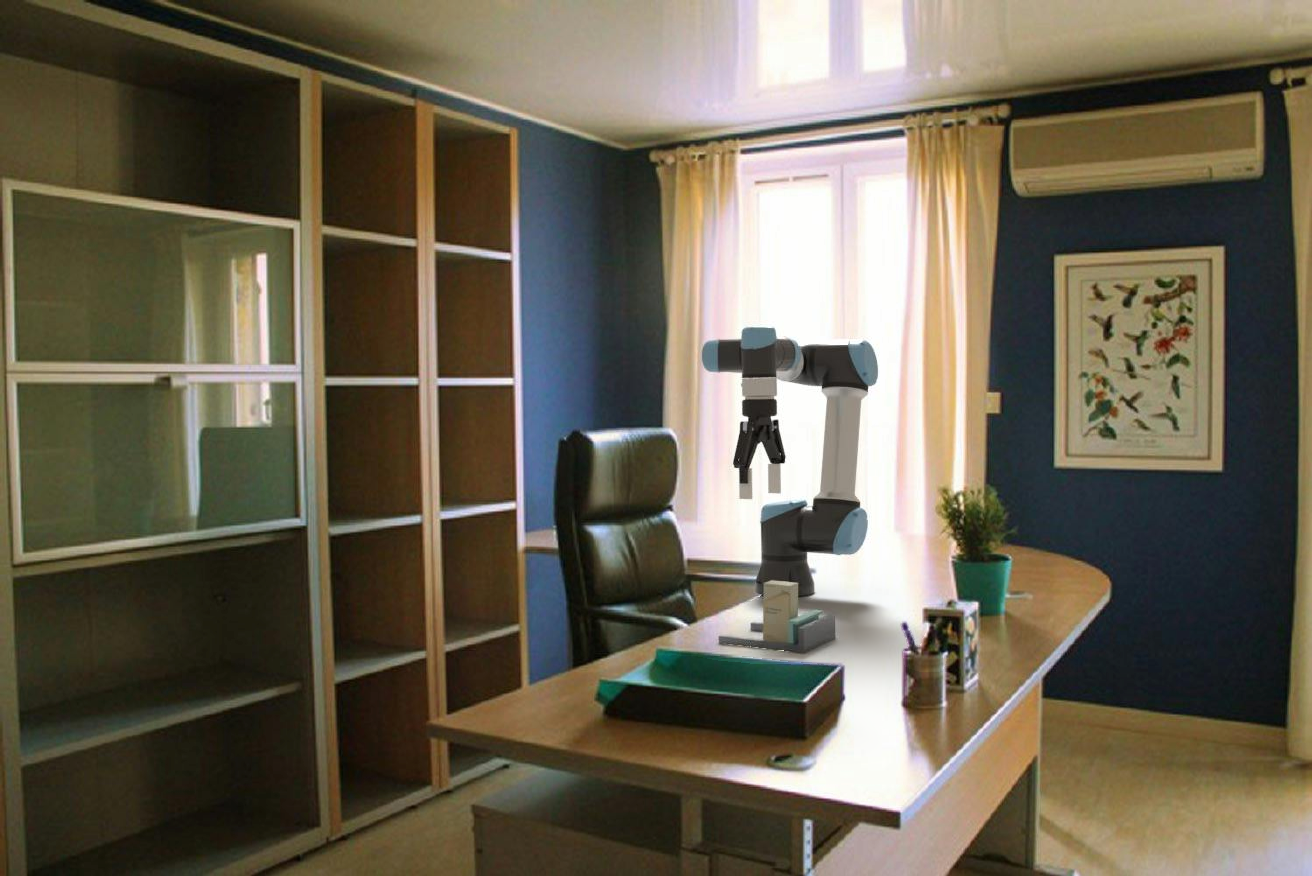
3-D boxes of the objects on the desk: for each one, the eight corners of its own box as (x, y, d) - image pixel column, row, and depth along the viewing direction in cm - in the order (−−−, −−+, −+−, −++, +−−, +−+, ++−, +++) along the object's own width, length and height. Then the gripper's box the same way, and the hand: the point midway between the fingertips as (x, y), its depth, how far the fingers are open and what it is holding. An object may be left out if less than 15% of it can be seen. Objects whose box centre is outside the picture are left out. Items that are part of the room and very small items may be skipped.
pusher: (807, 635, 236) (806, 608, 236) (823, 637, 234) (823, 610, 234) (780, 647, 225) (780, 619, 225) (797, 649, 223) (797, 621, 223)
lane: (753, 628, 244) (753, 606, 244) (835, 638, 234) (835, 614, 234) (718, 643, 231) (718, 619, 231) (804, 653, 221) (803, 628, 221)
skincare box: (762, 641, 232) (761, 583, 232) (772, 637, 236) (771, 579, 235) (790, 644, 229) (789, 585, 228) (799, 640, 233) (798, 582, 232)
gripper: (769, 397, 256) (770, 490, 257) (715, 399, 235) (717, 500, 236) (799, 396, 252) (800, 491, 253) (747, 399, 231) (749, 502, 232)
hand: (760, 496), depth 244 cm, fingers open, 13 cm apart
